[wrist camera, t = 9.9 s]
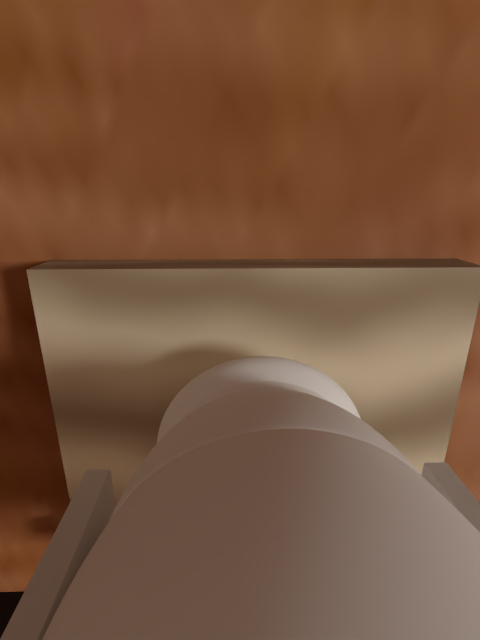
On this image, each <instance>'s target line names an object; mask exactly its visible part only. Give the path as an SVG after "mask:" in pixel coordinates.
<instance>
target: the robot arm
mask: <svg viewBox="0 0 480 640" xmlns="http://www.w3.org/2000/svg"><path fill="white" fill-rule="evenodd" d="M422 477H423V478H424V479H425V480H427V481H428V482H429V483H430V484H431V485H432V486H433V487H434V488H435V489H436V490H437V491H439V492H440V493H441V494H442V495H443V496H444V497H445V498H446V499H447V500H448V501H449V502H450V503H451V504H452V505H453V506H454V507H455V508H456V509H457V510H458V511H459V512H460V513H461V514H462V515H463V516H464V517H465V518H466V519H467V520H468V521H469V522H470V523H471V524H472V525H473V526H474V527H475V528H476V529H477V530H478V531H479V532H480V503H479V502H478V501H477V499H476V498H475V497H474V496H473V495H472V493H471V492H470V491H469V490H468V488H467V487H466V486H465V485H464V484H463V482H462V481H461V480H460V479H459V477H458V476H457V475H456V474H455V472H454V471H453V470H452V469H451V468H450V466H449V465H448V464H447V463H446V462H437V463H424V465H423V470H422ZM114 509H115V500H114V493H113V486H112V478H111V471H110V469H100V470H86V472H85V474H84V476H83V478H82V480H81V482H80V484H79V486H78V488H77V490H76V492H75V494H74V496H73V498H72V500H71V502H70V504H69V505H68V507H67V509H66V511H65V513H64V515H63V517H62V519H61V521H60V523H59V525H58V527H57V529H56V531H55V533H54V535H53V537H52V539H51V541H50V543H49V545H48V547H47V549H46V550H45V552H44V554H43V556H42V558H41V560H40V562H39V564H38V566H37V568H36V570H35V572H34V574H33V576H32V578H31V580H30V582H29V584H28V586H27V588H26V590H25V592H0V640H42V639H43V637H44V635H45V633H46V631H47V628H48V626H49V624H50V622H51V620H52V618H53V616H54V614H55V613H56V611H57V609H58V607H59V605H60V603H61V601H62V599H63V597H64V595H65V593H66V592H67V590H68V588H69V586H70V584H71V583H72V581H73V579H74V577H75V575H76V574H77V572H78V570H79V568H80V567H81V565H82V563H83V562H84V560H85V558H86V557H87V555H88V553H89V552H90V550H91V549H92V547H93V545H94V544H95V542H96V541H97V539H98V538H99V536H100V535H101V533H102V532H103V530H104V529H105V527H106V526H107V524H108V522H109V520H110V518H111V516H112V513H113V511H114Z"/></svg>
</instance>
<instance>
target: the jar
mask: <svg viewBox="0 0 480 640" xmlns="http://www.w3.org/2000/svg"><path fill="white" fill-rule="evenodd" d="M42 640H480V532H479V531H478V530H477V529H476V528H475V527H474V526H473V525H472V524H471V523H470V522H469V521H468V520H467V519H466V518H465V517H464V516H463V515H462V514H461V513H460V512H459V511H458V510H457V509H456V508H455V507H454V506H453V505H452V504H451V503H450V502H449V501H448V500H447V499H446V498H445V497H444V496H443V495H442V494H441V493H440V492H439V491H437V490H436V489H435V488H434V487H433V486H432V485H431V484H430V483H429V482H428V481H427V480H425V479H424V478H423V477H422V475H421V474H420V473H419V472H418V471H417V470H416V469H415V467H414V466H413V465H412V464H411V463H410V462H409V461H408V460H407V459H406V458H405V457H404V456H403V455H402V454H401V453H400V452H399V451H398V450H397V449H396V448H395V447H394V446H393V445H392V444H391V443H390V442H389V441H388V440H387V439H385V438H384V437H383V436H382V435H381V434H380V433H378V432H377V431H376V430H375V429H373V428H372V427H371V426H370V425H368V424H367V423H365V422H364V421H363V420H361V418H360V416H359V413H358V411H357V409H356V407H355V405H354V403H353V402H352V400H351V399H350V397H349V396H348V395H347V394H346V392H345V391H344V390H343V389H342V388H341V387H340V386H339V385H338V384H337V383H336V382H335V381H334V380H332V379H331V378H330V377H328V376H327V375H325V374H324V373H322V372H321V371H319V370H317V369H315V368H313V367H311V366H309V365H306V364H304V363H301V362H298V361H295V360H291V359H286V358H280V357H271V356H255V357H246V358H240V359H235V360H231V361H228V362H225V363H222V364H220V365H217V366H215V367H212V368H210V369H208V370H207V371H205V372H203V373H202V374H200V375H198V376H197V377H195V378H194V379H193V380H191V381H190V382H189V383H188V384H187V385H186V386H185V387H184V388H183V389H182V390H181V391H180V392H179V393H178V394H177V395H176V396H175V398H174V399H173V400H172V402H171V403H170V405H169V407H168V408H167V410H166V412H165V414H164V416H163V419H162V421H161V424H160V428H159V432H158V437H157V444H156V445H155V446H154V448H153V449H152V450H151V451H150V452H149V454H148V455H147V456H146V458H145V459H144V460H143V462H142V463H141V465H140V466H139V468H138V469H137V471H136V472H135V474H134V475H133V477H132V478H131V480H130V482H129V483H128V485H127V487H126V489H125V490H124V492H123V494H122V496H121V498H120V499H119V501H118V503H117V505H116V507H115V509H114V511H113V513H112V516H111V518H110V520H109V522H108V524H107V526H106V527H105V529H104V530H103V532H102V533H101V535H100V536H99V538H98V539H97V541H96V542H95V544H94V545H93V547H92V549H91V550H90V552H89V553H88V555H87V557H86V558H85V560H84V562H83V563H82V565H81V567H80V568H79V570H78V572H77V574H76V575H75V577H74V579H73V581H72V583H71V584H70V586H69V588H68V590H67V592H66V593H65V595H64V597H63V599H62V601H61V603H60V605H59V607H58V609H57V611H56V613H55V614H54V616H53V618H52V620H51V622H50V624H49V626H48V628H47V631H46V633H45V635H44V637H43V639H42Z"/></svg>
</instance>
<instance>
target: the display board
mask: <svg viewBox="0 0 480 640" xmlns="http://www.w3.org/2000/svg"><path fill="white" fill-rule="evenodd" d="M26 271H27V276H28V282H29V287H30V292H31V298H32V303H33V308H34V313H35V319H36V324H37V329H38V335H39V340H40V345H41V351H42V356H43V361H44V366H45V372H46V377H47V382H48V388H49V393H50V398H51V403H52V409H53V414H54V419H55V425H56V430H57V435H58V441H59V446H60V451H61V456H62V462H63V467H64V472H65V478H66V483H67V488H68V493H69V499H70V502H71V500H72V498H73V496H74V494H75V492H76V490H77V488H78V486H79V484H80V482H81V480H82V478H83V476H84V474H85V472H86V470H100V469H110V471H111V478H112V486H113V493H114V500H115V507H116V505H117V503H118V501H119V499H120V498H121V496H122V494H123V492H124V490H125V489H126V487H127V485H128V483H129V482H130V480H131V478H132V477H133V475H134V474H135V472H136V471H137V469H138V468H139V466H140V465H141V463H142V462H143V460H144V459H145V458H146V456H147V455H148V454H149V452H150V451H151V450H152V449H153V448H154V446H155V445H156V444H157V437H158V432H159V428H160V424H161V421H162V419H163V416H164V414H165V412H166V410H167V408H168V407H169V405H170V403H171V402H172V400H173V399H174V398H175V396H176V395H177V394H178V393H179V392H180V391H181V390H182V389H183V388H184V387H185V386H186V385H187V384H188V383H189V382H190V381H191V380H193V379H194V378H195V377H197V376H198V375H200V374H202V373H203V372H205V371H207V370H208V369H210V368H212V367H215V366H217V365H220V364H222V363H225V362H228V361H231V360H235V359H240V358H246V357H255V356H271V357H280V358H286V359H291V360H295V361H298V362H301V363H304V364H306V365H309V366H311V367H313V368H315V369H317V370H319V371H321V372H322V373H324V374H325V375H327V376H328V377H330V378H331V379H332V380H334V381H335V382H336V383H337V384H338V385H339V386H340V387H341V388H342V389H343V390H344V391H345V392H346V394H347V395H348V396H349V397H350V399H351V400H352V402H353V403H354V405H355V407H356V409H357V411H358V413H359V416H360V418H361V420H363V421H364V422H365V423H367V424H368V425H370V426H371V427H372V428H373V429H375V430H376V431H377V432H378V433H380V434H381V435H382V436H383V437H384V438H385V439H387V440H388V441H389V442H390V443H391V444H392V445H393V446H394V447H395V448H396V449H397V450H398V451H399V452H400V453H401V454H402V455H403V456H404V457H405V458H406V459H407V460H408V461H409V462H410V463H411V464H412V465H413V466H414V467H415V469H416V470H417V471H418V472H419V473H420V474H421V475H422V470H423V465H424V463H437V462H444V459H445V455H446V450H447V446H448V441H449V437H450V432H451V428H452V423H453V419H454V414H455V409H456V405H457V400H458V396H459V391H460V387H461V382H462V378H463V373H464V369H465V364H466V360H467V355H468V351H469V346H470V342H471V337H472V332H473V328H474V323H475V319H476V314H477V310H478V305H479V301H480V265H477V264H473V263H470V262H466V261H463V260H459V259H308V260H60V261H47V262H45V263H42V264H40V265H37V266H34V267H32V268H29V269H26Z"/></svg>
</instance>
